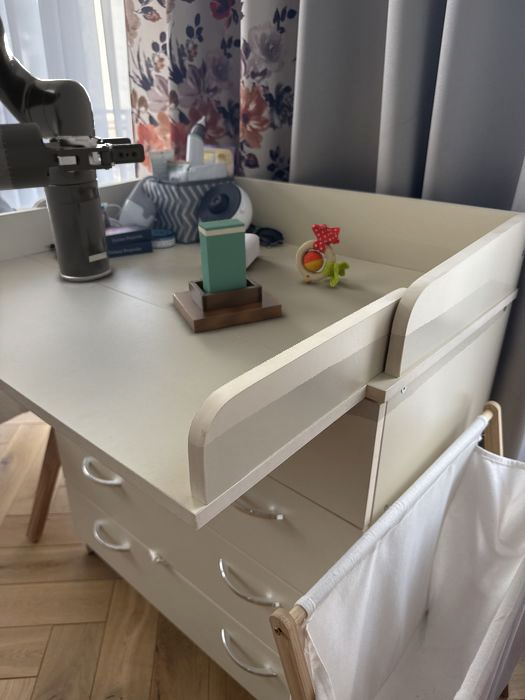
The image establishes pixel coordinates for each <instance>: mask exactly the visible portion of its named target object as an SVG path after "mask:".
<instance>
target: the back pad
mask: <svg viewBox="0 0 525 700" xmlns="http://www.w3.org/2000/svg"><path fill="white" fill-rule="evenodd" d="M245 225H246V224H245V222H243V221H241V220H240V219H237V218H229V219H220V220H211V221H210V220H209V221H202V222H198V233H199V234H198V235H199V248H200V249H199V251H200V262H201V275H202V277H201V278H202V279H203V292H204V293H205V294H207V293H213V292H219V291H225V290H232V289H238V288H244V287H247V280H246V274H247V268H246V250H245V233H246V226H245Z"/></svg>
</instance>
